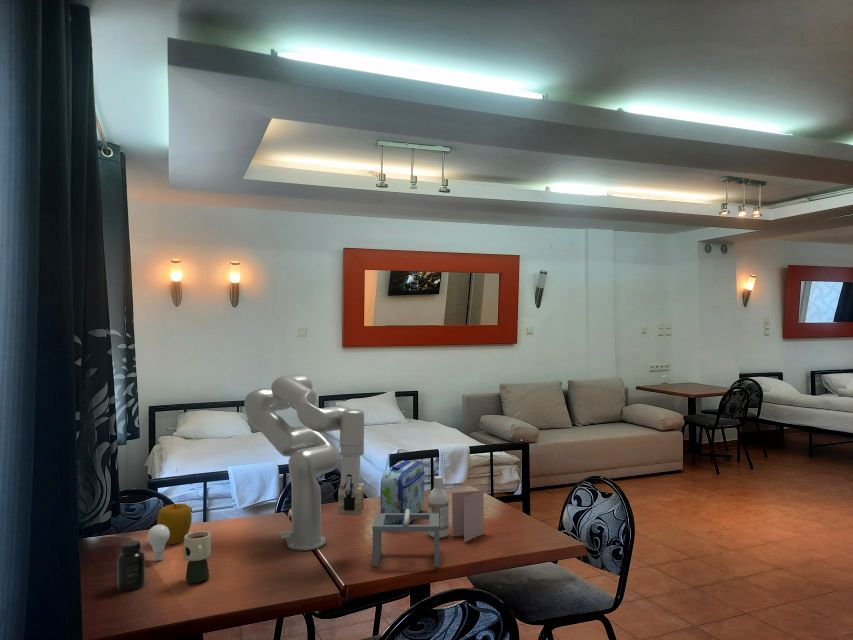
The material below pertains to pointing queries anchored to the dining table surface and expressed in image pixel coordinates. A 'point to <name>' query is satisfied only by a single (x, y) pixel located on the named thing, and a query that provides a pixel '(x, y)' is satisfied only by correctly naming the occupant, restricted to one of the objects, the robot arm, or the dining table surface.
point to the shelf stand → (380, 527)
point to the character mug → (197, 555)
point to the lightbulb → (158, 540)
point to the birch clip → (358, 500)
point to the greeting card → (468, 514)
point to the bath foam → (439, 507)
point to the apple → (175, 521)
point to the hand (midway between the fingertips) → (350, 506)
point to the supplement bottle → (130, 567)
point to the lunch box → (402, 489)
